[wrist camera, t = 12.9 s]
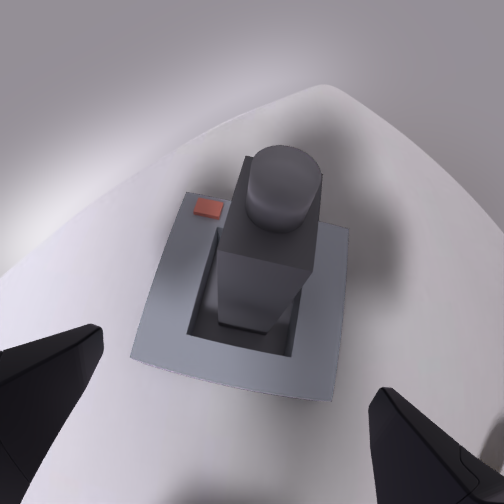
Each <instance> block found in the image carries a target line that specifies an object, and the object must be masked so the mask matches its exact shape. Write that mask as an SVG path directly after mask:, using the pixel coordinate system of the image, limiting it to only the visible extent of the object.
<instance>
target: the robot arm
mask: <svg viewBox="0 0 504 504" xmlns="http://www.w3.org/2000/svg"><path fill="white" fill-rule="evenodd" d="M103 351H104V343H103V330H102V328H101V327H99V326H97V325H94V324H87V325H84V326H81V327H78V328H74V329H71V330H68V331H65V332H62V333H59V334H55V335H52V336H49V337H46V338H42V339H39V340H36V341H33V342H29V343H26V344H23V345H19V346H16V347H13V348H9V349H6V350H3V351H0V504H20V503H21V501H22V499H23V497H24V495H25V493H26V491H27V489H28V487H29V486H30V483H31V481H32V479H33V478H34V476H35V474H36V472H37V470H38V468H39V467H40V465H41V463H42V461H43V459H44V458H45V456H46V454H47V452H48V450H49V449H50V447H51V445H52V443H53V442H54V440H55V438H56V437H57V435H58V433H59V432H60V430H61V428H62V427H63V425H64V423H65V422H66V420H67V418H68V417H69V415H70V413H71V412H72V410H73V408H74V407H75V405H76V404H77V402H78V400H79V399H80V397H81V396H82V394H83V392H84V391H85V389H86V387H87V385H88V383H89V381H90V379H91V377H92V375H93V373H94V370H95V368H96V366H97V364H98V362H99V360H100V358H101V356H102V354H103ZM368 414H369V432H370V449H371V457H372V464H373V471H374V479H375V487H376V495H377V504H504V476H502V475H501V474H499V473H498V472H496V471H495V470H493V469H492V468H490V467H489V466H487V465H486V464H485V463H483V462H482V461H480V460H479V459H477V458H476V457H475V456H474V455H472V454H471V453H470V452H468V451H467V450H466V449H465V448H464V447H462V446H461V445H460V446H459V443H457V442H456V441H455V440H454V439H453V438H451V437H450V436H449V435H448V434H447V433H445V432H444V431H443V430H442V429H441V428H439V427H438V426H437V425H436V424H435V423H433V422H432V421H431V420H430V419H429V418H427V417H426V416H425V415H424V414H423V413H421V412H420V411H419V410H418V409H417V408H415V407H414V406H413V405H412V404H411V403H410V402H408V401H407V400H406V399H405V398H404V397H402V396H401V395H400V394H399V393H398V392H396V391H395V390H394V389H393V388H388V387H382V388H380V389H379V390H378V392H377V393H376V395H375V397H374V398H373V400H372V402H371V403H370V405H369V409H368Z"/></svg>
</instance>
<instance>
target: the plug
mask: <svg viewBox="0 0 504 504" xmlns="http://www.w3.org/2000/svg"><path fill="white" fill-rule="evenodd" d="M322 175H323V174H321V171H320V168H319V166H318V164H317V163H316V162H315V160H314V159H313V158H312V157H311V156H309V155H308V154H307V153H305V152H303V151H301V150H299V149H297V148H294V147H290V146H284V145H276V146H270V147H267V148H264V149H262V150H261V151H259V152H258V153H257V154H256V155H255V156H254V157H250V156H245V159H244V162H243V166H242V169H241V172H240V175H239V178H238V182H237V185H236V188H235V191H234V194H233V198H232V201H231V204H230V208H229V211H228V214H227V217H226V221H225V224H224V227H223V231H222V234H221V238H220V241H219V244H218V248H217V289H218V325H220V326H224V327H228V328H233V329H237V330H241V331H246V332H250V333H255V334H260V335H265V336H266V334H267V333H268V332H269V330H270V329H271V328H272V327H273V325H274V324H275V323H276V321H277V320H278V319H279V317H280V316H281V315H282V313H283V312H284V311H285V309H286V308H287V307H288V305H289V304H290V303H291V301H292V300H293V299H294V297H295V296H296V295H297V293H298V292H299V290H300V289H301V288H302V286H303V285H304V284H305V282H306V281H307V279H308V278H309V277H310V275H311V274H312V272H313V268H314V259H315V251H316V242H317V232H318V222H319V211H320V200H321V188H322Z"/></svg>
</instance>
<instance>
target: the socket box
mask: <svg viewBox="0 0 504 504" xmlns="http://www.w3.org/2000/svg"><path fill="white" fill-rule="evenodd" d="M230 204H231V201H229V200H224V199H219V198H214V197H210V196H205V195H200V194H195V193H190V192H186V194H185V197H184V199H183V202H182V204H181V207H180V209H179V212H178V214H177V217H176V219H175V222H174V225H173V227H172V230H171V232H170V235H169V238H168V240H167V243H166V246H165V249H164V251H163V254H162V257H161V260H160V263H159V265H158V268H157V271H156V274H155V277H154V280H153V283H152V286H151V289H150V292H149V295H148V298H147V301H146V304H145V307H144V311H143V314H142V317H141V320H140V324H139V327H138V330H137V334H136V337H135V340H134V344H133V347H132V351H131V355H130V358H132V359H134V360H137V361H139V362H141V363H144V364H147V365H150V366H153V367H157V368H160V369H163V370H167V371H170V372H174V373H177V374H181V375H184V376H188V377H192V378H196V379H200V380H204V381H208V382H212V383H216V384H221V385H225V386H230V387H234V388H239V389H244V390H249V391H254V392H260V393H265V394H271V395H277V396H283V397H290V398H297V399H304V400H312V401H332V397H333V391H334V384H335V378H336V371H337V364H338V356H339V348H340V340H341V331H342V322H343V312H344V301H345V289H346V274H347V257H348V234H349V229H348V228H344V227H340V226H336V225H332V224H328V223H324V222H320V221H319V222H318V232H317V242H316V251H315V259H314V268H313V272H312V274H311V275H310V277H309V278H308V279H307V281H306V282H305V284H304V285H303V286H302V288H301V289H300V290H299V292H298V293H297V295H296V296H295V297H294V299H293V300H292V301H291V303H290V304H289V305H288V307H287V308H286V309H285V311H284V312H283V313H282V315H281V316H280V317H279V319H278V320H277V321H276V323H275V324H274V325H273V327H272V328H271V329H270V330H269V332H268V333H267V334H266V336H265V335H260V334H255V333H250V332H246V331H241V330H237V329H233V328H228V327H224V326H220V325H218V289H217V248H218V244H219V241H220V238H221V234H222V231H223V227H224V224H225V221H226V217H227V214H228V211H229V208H230Z"/></svg>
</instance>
